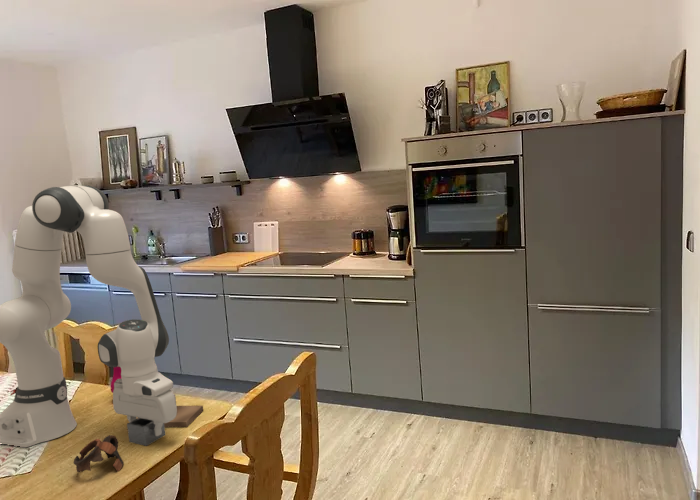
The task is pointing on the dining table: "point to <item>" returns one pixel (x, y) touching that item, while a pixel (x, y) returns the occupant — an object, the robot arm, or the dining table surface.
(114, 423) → the dining table surface
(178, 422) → the post stand
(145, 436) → the grey open box
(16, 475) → the dining table surface
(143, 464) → the dining table surface
